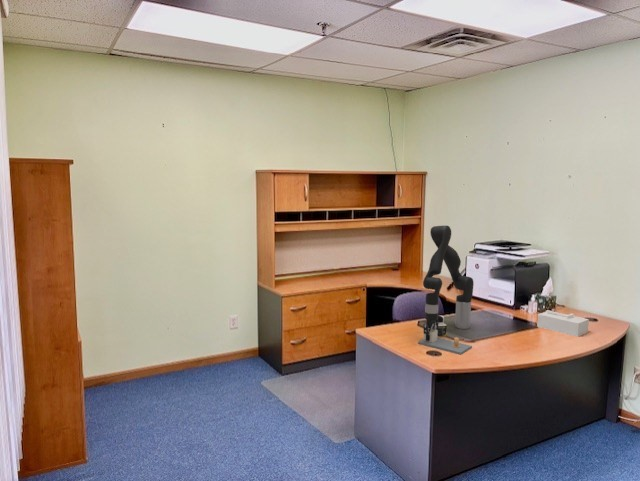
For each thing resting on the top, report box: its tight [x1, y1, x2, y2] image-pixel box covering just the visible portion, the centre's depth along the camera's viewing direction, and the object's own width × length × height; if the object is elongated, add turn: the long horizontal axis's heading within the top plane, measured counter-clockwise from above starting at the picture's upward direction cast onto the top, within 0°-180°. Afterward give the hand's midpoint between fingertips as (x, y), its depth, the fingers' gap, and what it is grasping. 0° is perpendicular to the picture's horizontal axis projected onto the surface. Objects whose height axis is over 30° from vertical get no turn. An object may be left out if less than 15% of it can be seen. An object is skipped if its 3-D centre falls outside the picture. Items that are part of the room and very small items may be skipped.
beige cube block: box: [423, 328, 438, 342], centre depth 277 cm, size 6×6×6 cm
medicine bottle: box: [436, 314, 448, 338], centre depth 289 cm, size 7×7×12 cm
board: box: [417, 336, 473, 355], centre depth 271 cm, size 14×26×6 cm, turn 48°
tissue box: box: [536, 309, 590, 338], centre depth 302 cm, size 14×25×11 cm, turn 38°
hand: (430, 339), depth 277 cm, fingers open, 6 cm apart
